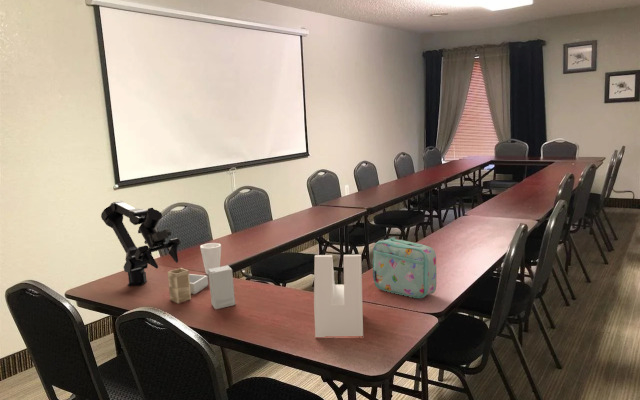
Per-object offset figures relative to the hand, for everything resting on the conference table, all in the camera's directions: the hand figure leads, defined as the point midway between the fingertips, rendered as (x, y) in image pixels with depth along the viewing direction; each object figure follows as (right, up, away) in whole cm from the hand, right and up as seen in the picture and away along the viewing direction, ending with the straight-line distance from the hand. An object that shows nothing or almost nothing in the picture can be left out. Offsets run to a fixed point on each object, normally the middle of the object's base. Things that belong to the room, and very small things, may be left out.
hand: (167, 265), depth 206 cm
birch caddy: (+6, -14, -3) cm, 15 cm away
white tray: (+7, -11, +10) cm, 17 cm away
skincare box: (+24, -14, -10) cm, 30 cm away
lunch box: (+95, -11, -3) cm, 95 cm away
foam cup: (+12, -8, +31) cm, 34 cm away
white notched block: (+69, -17, -33) cm, 78 cm away
